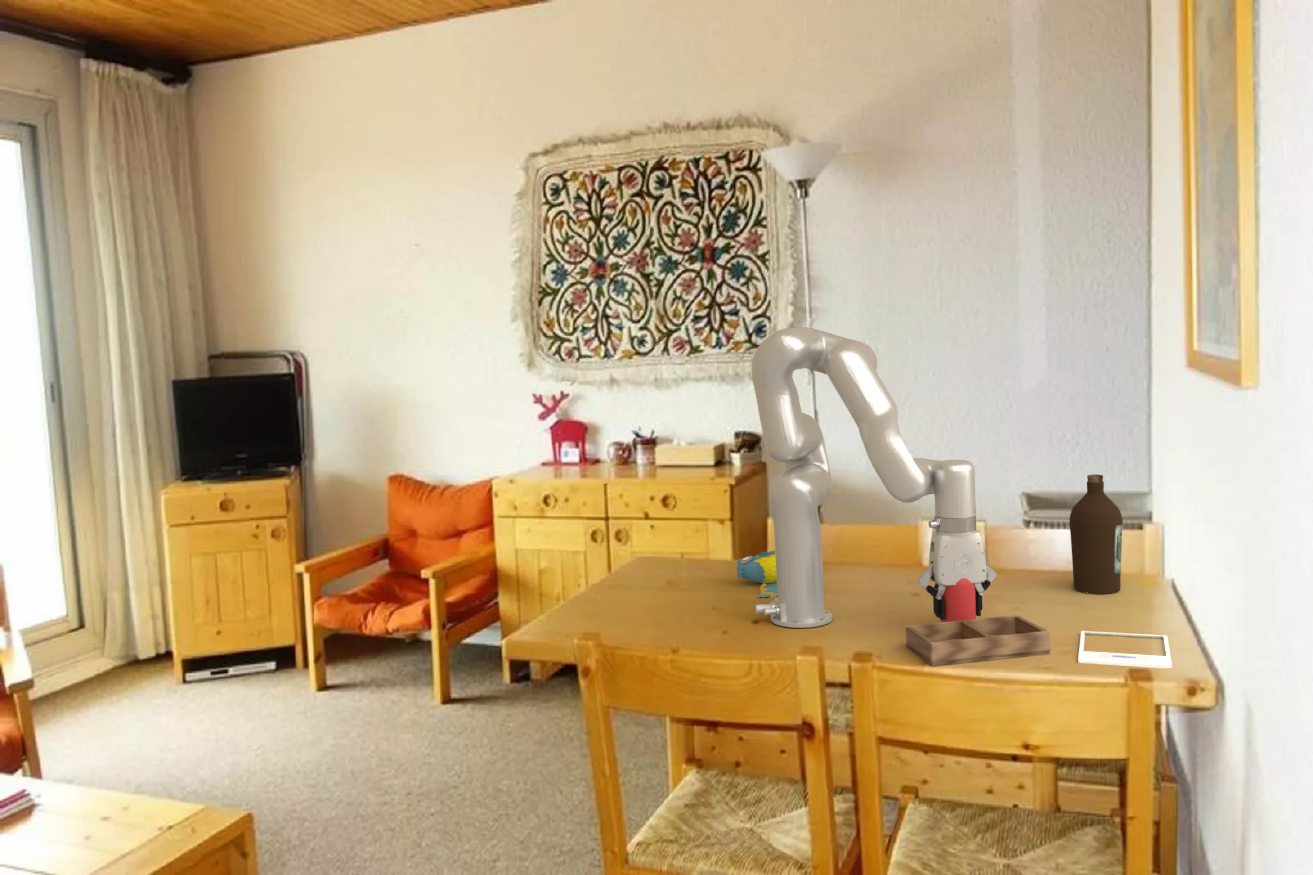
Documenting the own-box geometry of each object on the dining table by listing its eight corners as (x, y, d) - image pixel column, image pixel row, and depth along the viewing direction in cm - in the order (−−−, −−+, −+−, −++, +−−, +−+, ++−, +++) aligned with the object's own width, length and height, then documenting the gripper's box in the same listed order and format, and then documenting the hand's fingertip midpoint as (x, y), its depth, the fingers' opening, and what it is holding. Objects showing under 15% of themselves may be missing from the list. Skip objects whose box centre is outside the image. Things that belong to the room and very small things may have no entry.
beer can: (969, 626, 209) (968, 566, 208) (981, 635, 203) (979, 573, 201) (936, 628, 209) (934, 568, 208) (946, 637, 202) (945, 575, 201)
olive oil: (1069, 594, 229) (1067, 478, 226) (1071, 582, 239) (1069, 471, 236) (1123, 596, 225) (1122, 479, 222) (1123, 584, 234) (1122, 471, 232)
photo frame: (1078, 658, 184) (1081, 629, 200) (1078, 665, 184) (1081, 635, 201) (1172, 664, 178) (1167, 634, 195) (1172, 671, 178) (1167, 640, 195)
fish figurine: (792, 563, 237) (726, 564, 241) (795, 601, 238) (728, 602, 241) (806, 538, 264) (746, 539, 268) (809, 572, 264) (748, 573, 268)
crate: (932, 666, 186) (931, 644, 186) (906, 647, 198) (905, 626, 198) (1049, 654, 189) (1049, 632, 189) (1017, 635, 201) (1016, 615, 201)
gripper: (920, 531, 199) (923, 625, 201) (1007, 524, 201) (1009, 617, 203) (904, 525, 206) (907, 615, 208) (989, 518, 209) (991, 607, 211)
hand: (958, 615), depth 206 cm, fingers closed on beer can, 6 cm apart
